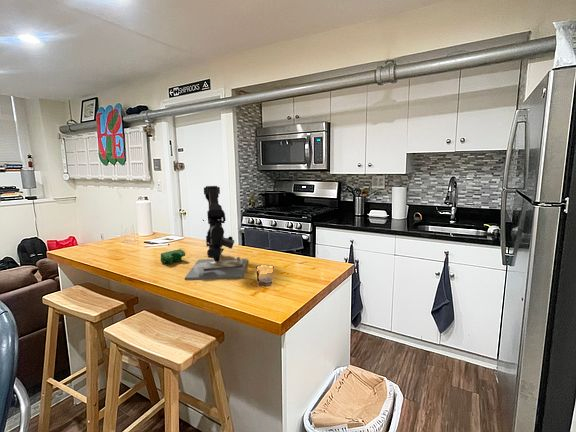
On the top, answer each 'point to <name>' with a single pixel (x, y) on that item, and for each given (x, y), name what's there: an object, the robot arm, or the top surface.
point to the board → (219, 271)
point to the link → (227, 263)
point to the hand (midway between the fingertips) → (217, 263)
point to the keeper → (200, 266)
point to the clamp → (172, 256)
